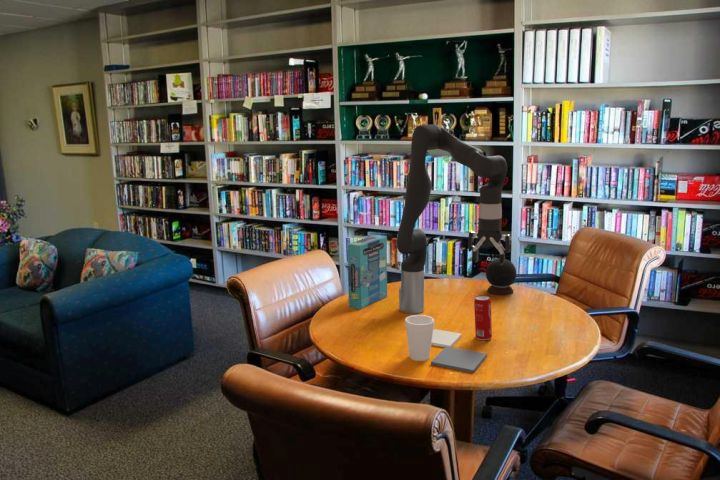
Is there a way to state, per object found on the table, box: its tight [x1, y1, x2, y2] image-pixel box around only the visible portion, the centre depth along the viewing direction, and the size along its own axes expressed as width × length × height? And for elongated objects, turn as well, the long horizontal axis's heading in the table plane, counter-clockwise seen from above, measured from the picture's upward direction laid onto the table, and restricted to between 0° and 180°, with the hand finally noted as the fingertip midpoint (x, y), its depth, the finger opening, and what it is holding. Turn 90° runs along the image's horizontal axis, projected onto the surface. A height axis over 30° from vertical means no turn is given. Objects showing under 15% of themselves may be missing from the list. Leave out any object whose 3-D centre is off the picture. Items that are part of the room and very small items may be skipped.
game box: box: [347, 234, 388, 310], centre depth 247 cm, size 20×6×27 cm, turn 144°
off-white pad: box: [431, 328, 463, 348], centre depth 208 cm, size 12×12×1 cm
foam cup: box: [404, 314, 435, 362], centre depth 192 cm, size 10×9×13 cm
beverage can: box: [473, 295, 493, 341], centre depth 207 cm, size 6×6×15 cm
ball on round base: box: [485, 257, 517, 296], centre depth 259 cm, size 13×13×15 cm
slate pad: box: [430, 346, 488, 374], centre depth 190 cm, size 14×14×1 cm
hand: (488, 263), depth 200 cm, fingers open, 8 cm apart
